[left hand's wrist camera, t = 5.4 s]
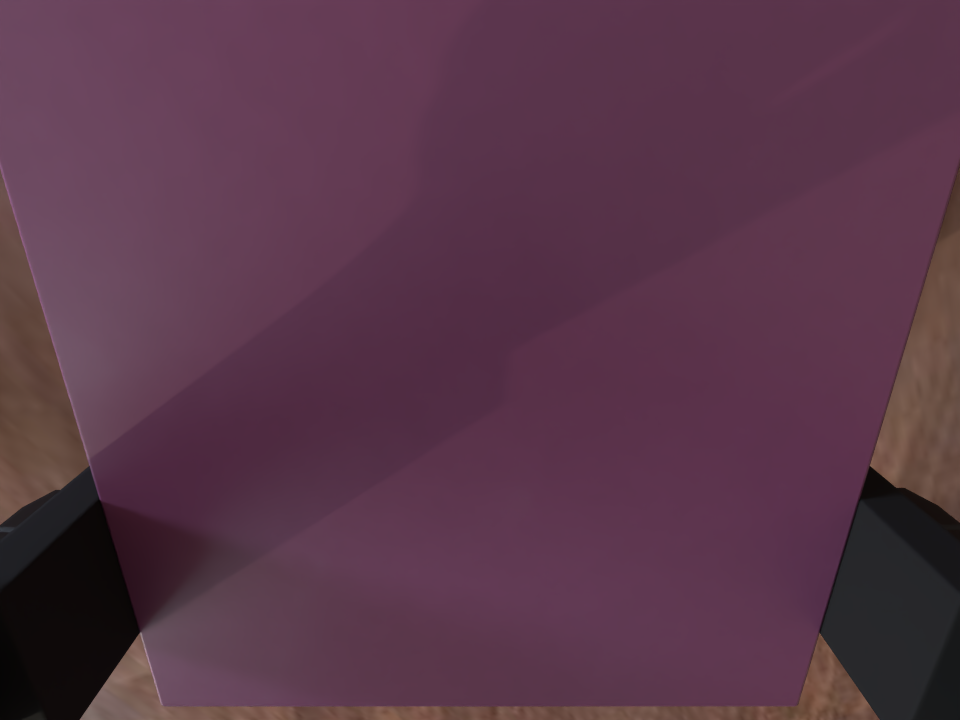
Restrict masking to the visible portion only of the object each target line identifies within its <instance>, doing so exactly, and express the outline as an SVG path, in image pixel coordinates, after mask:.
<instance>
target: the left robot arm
mask: <svg viewBox="0 0 960 720" xmlns="http://www.w3.org/2000/svg"><path fill="white" fill-rule="evenodd" d="M139 633H140V632H139V629H138V625H137V622H136V619H135V615H134V612H133V609H132V605H131V602H130V599H129V595H128V592H127V589H126V585H125V582H124V579H123V575H122V572H121V569H120V565H119V562H118V559H117V555H116V552H115V549H114V545H113V542H112V539H111V535H110V532H109V529H108V525H107V522H106V519H105V516H104V512H103V509H102V506H101V502H100V499H99V496H98V492H97V489H96V486H95V482H94V479H93V476H92V472H91V469H90V466H89V467H88V468H86V469H85V470H84V471H83V472H82V473H80V474H79V475H78V476H77V477H76V478H74V479H73V480H72V481H71V482H70V483H68V484H67V485H66V486H65V487H64V488H62V489H61V490H55V491H53V492H51V493H49V494H47V495H45V496H43V497H41V498H39V499H38V500H36V501H34V502H32V503H30V504H28V505H26V506H24V507H22V508H21V509H20V510H19V511H17V512H16V513H15V514H14V515H12V516H11V517H10V518H9V519H7V520H6V521H5V522H4V523H2V524H1V525H0V720H80V718H81V717H82V715H83V714H84V712H85V711H86V710H87V708H88V707H89V705H90V704H91V702H92V701H93V699H94V698H95V697H96V695H97V694H98V692H99V691H100V689H101V688H102V686H103V685H104V684H105V682H106V681H107V679H108V678H109V676H110V675H111V673H112V672H113V671H114V669H115V668H116V666H117V665H118V663H119V662H120V660H121V659H122V657H123V656H124V655H125V653H126V652H127V650H128V649H129V647H130V646H131V644H132V643H133V642H134V640H135V639H136V637H137V636H138V634H139ZM820 634H821V635H822V637H823V638H824V640H825V641H826V642H827V644H828V645H829V647H830V648H831V650H832V651H833V653H834V654H835V655H836V657H837V658H838V660H839V661H840V663H841V664H842V666H843V667H844V669H845V670H846V671H847V673H848V674H849V676H850V677H851V679H852V680H853V682H854V683H855V684H856V686H857V687H858V689H859V690H860V692H861V693H862V695H863V696H864V697H865V699H866V700H867V702H868V703H869V705H870V706H871V708H872V709H873V710H874V712H875V713H876V715H877V716H878V718H879V719H880V720H960V523H959V522H958V521H957V520H955V519H954V518H953V517H952V516H950V515H949V514H948V513H947V512H945V511H944V510H943V509H942V508H940V507H939V506H938V505H936V504H934V503H932V502H930V501H928V500H926V499H924V498H923V497H921V496H919V495H917V494H915V493H913V492H911V491H909V490H907V489H905V488H896V487H894V486H893V485H892V484H891V483H890V482H888V481H887V480H886V479H885V478H884V477H882V476H881V475H880V474H879V473H878V472H876V471H875V470H874V469H873V468H872V467H870V466H869V470H868V473H867V476H866V480H865V483H864V486H863V490H862V493H861V496H860V500H859V503H858V506H857V510H856V513H855V516H854V520H853V523H852V526H851V530H850V533H849V536H848V540H847V543H846V546H845V550H844V553H843V556H842V560H841V563H840V566H839V570H838V573H837V576H836V580H835V583H834V586H833V590H832V593H831V596H830V600H829V603H828V606H827V610H826V613H825V616H824V620H823V623H822V626H821V630H820Z"/></svg>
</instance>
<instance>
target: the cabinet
mask: <svg viewBox="0 0 960 720" xmlns="http://www.w3.org/2000/svg"><path fill="white" fill-rule="evenodd" d="M959 166H960V0H0V169H1V172H2V176H3V179H4V182H5V186H6V189H7V192H8V196H9V199H10V202H11V206H12V209H13V212H14V216H15V219H16V222H17V226H18V229H19V232H20V236H21V239H22V242H23V246H24V249H25V252H26V256H27V259H28V262H29V266H30V269H31V272H32V276H33V279H34V282H35V286H36V289H37V292H38V296H39V299H40V302H41V306H42V309H43V312H44V316H45V319H46V322H47V326H48V329H49V332H50V336H51V339H52V342H53V346H54V349H55V352H56V356H57V359H58V362H59V366H60V369H61V372H62V376H63V379H64V382H65V386H66V389H67V392H68V396H69V399H70V402H71V406H72V409H73V412H74V416H75V419H76V422H77V426H78V429H79V432H80V436H81V439H82V442H83V446H84V449H85V452H86V456H87V459H88V462H89V466H90V469H91V472H92V476H93V479H94V482H95V486H96V489H97V492H98V496H99V499H100V502H101V506H102V509H103V512H104V516H105V519H106V522H107V525H108V529H109V532H110V535H111V539H112V542H113V545H114V549H115V552H116V555H117V559H118V562H119V565H120V569H121V572H122V575H123V579H124V582H125V585H126V589H127V592H128V595H129V599H130V602H131V605H132V609H133V612H134V615H135V619H136V622H137V625H138V629H139V632H140V635H141V639H142V642H143V645H144V649H145V652H146V655H147V659H148V662H149V665H150V669H151V672H152V675H153V679H154V682H155V685H156V689H157V692H158V695H159V699H160V702H161V705H163V706H797V705H798V703H799V700H800V696H801V693H802V690H803V686H804V683H805V680H806V676H807V673H808V670H809V666H810V663H811V660H812V656H813V653H814V650H815V646H816V643H817V640H818V636H819V633H820V630H821V626H822V623H823V620H824V616H825V613H826V610H827V606H828V603H829V600H830V596H831V593H832V590H833V586H834V583H835V580H836V576H837V573H838V570H839V566H840V563H841V560H842V556H843V553H844V550H845V546H846V543H847V540H848V536H849V533H850V530H851V526H852V523H853V520H854V516H855V513H856V510H857V506H858V503H859V500H860V496H861V493H862V490H863V486H864V483H865V480H866V476H867V473H868V470H869V466H870V463H871V460H872V456H873V453H874V450H875V446H876V443H877V440H878V436H879V433H880V430H881V426H882V423H883V420H884V416H885V413H886V410H887V406H888V403H889V400H890V396H891V393H892V390H893V386H894V383H895V379H896V376H897V373H898V369H899V366H900V363H901V359H902V356H903V353H904V349H905V346H906V343H907V339H908V336H909V333H910V329H911V326H912V323H913V319H914V316H915V313H916V309H917V306H918V303H919V299H920V296H921V293H922V289H923V286H924V283H925V279H926V276H927V273H928V269H929V266H930V263H931V259H932V256H933V253H934V249H935V246H936V243H937V239H938V236H939V233H940V229H941V226H942V223H943V219H944V216H945V213H946V209H947V206H948V203H949V199H950V196H951V193H952V189H953V186H954V183H955V179H956V176H957V173H958V169H959Z"/></svg>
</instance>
